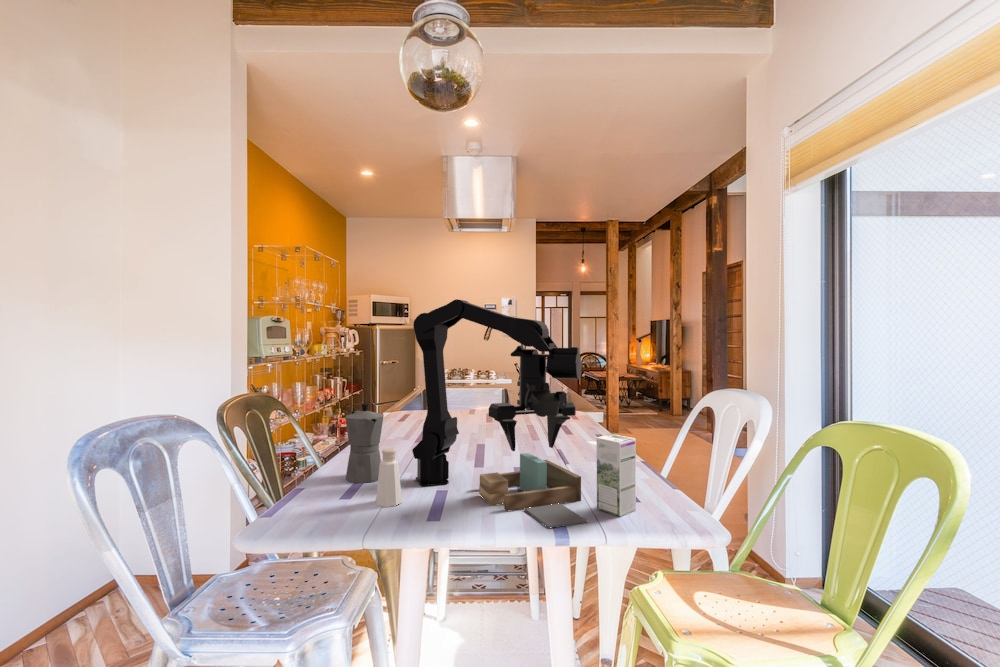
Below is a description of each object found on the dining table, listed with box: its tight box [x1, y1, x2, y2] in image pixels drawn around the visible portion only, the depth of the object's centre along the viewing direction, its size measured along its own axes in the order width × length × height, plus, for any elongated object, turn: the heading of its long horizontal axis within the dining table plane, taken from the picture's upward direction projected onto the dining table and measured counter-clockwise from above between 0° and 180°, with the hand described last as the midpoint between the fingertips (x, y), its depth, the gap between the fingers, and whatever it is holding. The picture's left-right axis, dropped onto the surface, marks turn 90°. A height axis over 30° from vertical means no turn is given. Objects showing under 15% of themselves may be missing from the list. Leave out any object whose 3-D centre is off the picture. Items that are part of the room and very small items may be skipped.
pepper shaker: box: [375, 447, 403, 508], centre depth 102 cm, size 5×5×11 cm
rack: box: [499, 459, 582, 512], centre depth 108 cm, size 17×15×5 cm
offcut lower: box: [478, 484, 510, 506], centre depth 105 cm, size 4×7×2 cm, turn 22°
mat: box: [524, 503, 588, 529], centre depth 95 cm, size 8×10×1 cm
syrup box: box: [596, 433, 637, 517], centre depth 99 cm, size 6×6×14 cm
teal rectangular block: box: [519, 452, 548, 492], centre depth 109 cm, size 2×9×8 cm, turn 23°
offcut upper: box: [479, 472, 509, 495], centre depth 105 cm, size 4×6×2 cm, turn 20°
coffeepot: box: [345, 402, 384, 484], centre depth 121 cm, size 15×9×18 cm, turn 35°
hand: (532, 449), depth 109 cm, fingers open, 9 cm apart
